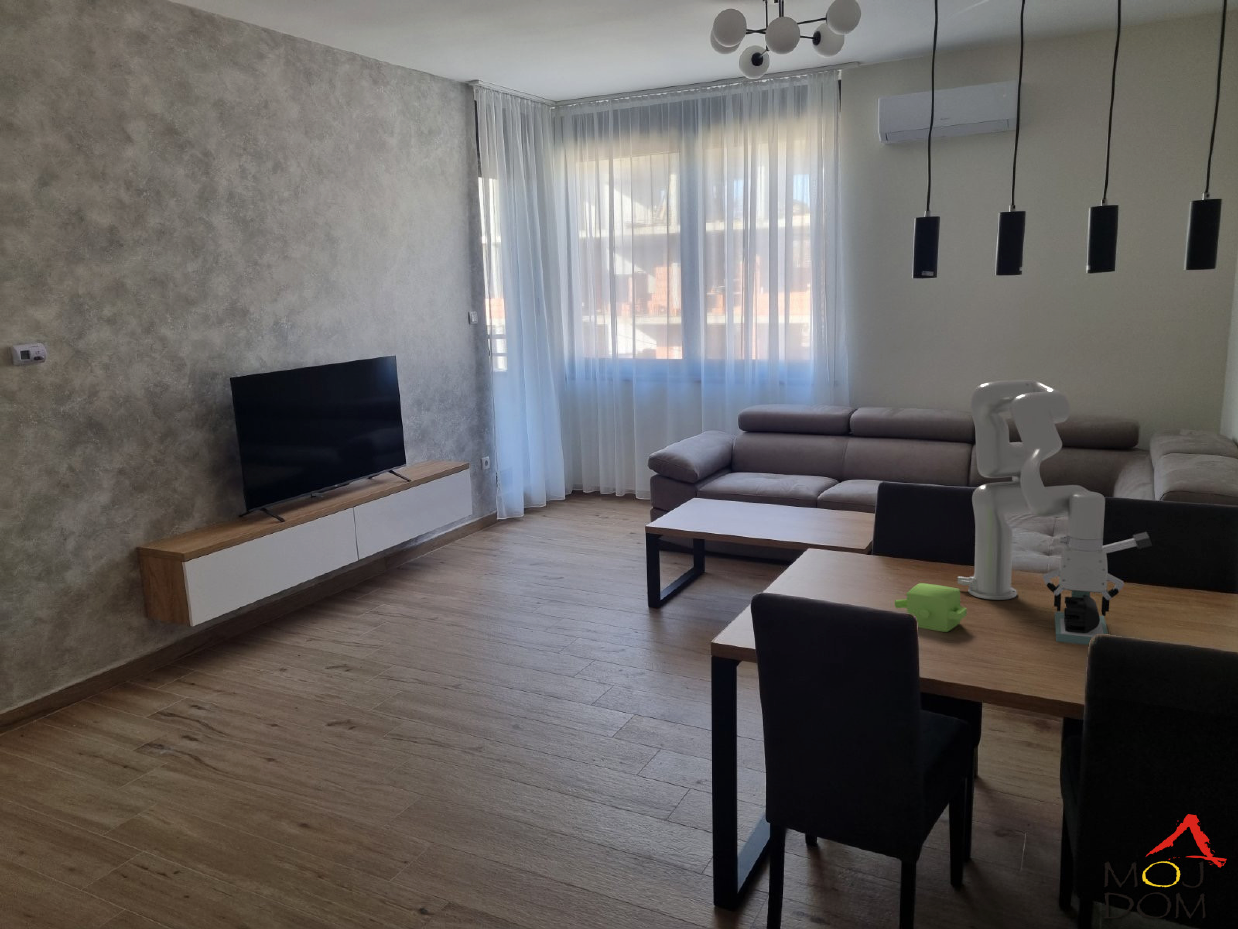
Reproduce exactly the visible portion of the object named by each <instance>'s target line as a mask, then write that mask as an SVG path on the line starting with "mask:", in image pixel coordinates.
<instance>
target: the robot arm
mask: <svg viewBox="0 0 1238 929" xmlns="http://www.w3.org/2000/svg"><path fill="white" fill-rule="evenodd" d="M969 403H970V413H971V417H972V420H973V424H974V428H975V451H976V466H977V468H976V469H977V471H978V473H979V475H980V476H982V477H984V478H987V479H997V478H998V479H999V478H1011V480H1012V481H1001V482H990V483H984V484H982V485H980V486H977V487H976V489H975V490H974V491H973V492H972V495H971V496H972V497H971V502H972V509H973V515H974V525H975V529H974V531H975V532H974V536H975V538H974V541H975V542H974V544H975V545H974V574H973V575H970V576H969V577H968V576H967V577H966V576H959V575H958V576H957V584H961V586H968V587H967V588H968V593H969V594H970V595H971V596H973V597H976V598H979V599H985V600H992V601H1001V600H1002V601H1003V600H1005V601H1006V600H1012V599H1014V598H1016V597H1017V594H1018V592H1017V589H1015V588H1014V587H1012V564H1013V563H1012V559H1013V558H1012V557H1013V532H1012V529H1011V526H1010V525H1009V523H1008V522H1007V520H1006V519H1005V518H1007V517H1013V516H1014V517H1015V516H1024V515H1029V514H1030V515H1031V514H1033V515H1034V516H1036V517H1039V518H1041V519H1042V518H1043V519H1048V518H1058V517H1068V518H1067V535H1066V536H1064V537H1062V536H1061V537H1060V543H1061V544H1065V546H1064V547H1063V549H1062V552H1061V558H1060V561H1059V562H1060V563H1059V568H1058V569H1055V570H1053V571H1050V572H1047V573H1044V574H1042V579H1043V581H1044V583H1045V586H1046V587H1047V588H1048V589H1049V591H1051V593H1052V594H1053V595H1054V598H1053V599H1054V600H1053V607H1054V608H1056V612H1061V609H1062V608H1061V606H1062V592H1063V591H1064V590H1065V591H1070V592H1071V591H1081V592H1090V593H1093V594H1095V593H1096V594H1098V593H1099V594H1101V595H1102V597H1101V616H1104V617H1106V615H1107V614H1106V612H1108V613H1109V612H1110V601H1111V600H1112V599H1113V598H1114V597H1115V596H1117V595H1118V594H1119V593H1120V591H1121V590H1122V588H1123V587H1124V585H1125V583H1124V581H1123V580H1122V579H1120V578H1118V577H1116V576H1114V575H1112V574H1110V573H1108V557H1107V553H1106V551H1105V550H1104V549H1102V546H1104V544H1103V543H1104V528H1105V527H1104V524H1105V521H1104V520H1105V510H1106V506H1105V505H1106V499H1105V497H1104V495H1103V494H1101V493H1099V492H1095V491H1091V490H1088V489H1087V488H1085V487H1084V486H1081V485H1077V484H1070V485H1069V484H1068V485H1067V484H1066V485H1054V486H1053V485H1052V486H1045V485H1044V483H1043V480H1042V477H1041V474H1040V466H1041V463H1042V462H1044V461H1045V460H1048V458H1050V457H1052V456H1054V455H1055V454H1057V453H1058V452H1059V451H1061V449H1062V447H1063V442H1062V440H1061V437H1060V434H1059V433H1058V430H1057V427H1056V424H1061V423H1064V422H1066V421H1067V420H1068V419H1069V417H1070V414H1071V405H1070V402H1069V399H1068V398H1067V397H1066V395H1064V393H1062V392H1061V391H1059V390H1058V389H1056V388H1054V387H1051V386H1049V385H1047V384H1046V383H1045V384H1044V383H1042V382H1041V381H1038V380H1034V379H1015V380H997V381H990V382H985V383H982V384H980V385H978V386H977V387H976V388H974V390H973V392H972V394H971V397H970V402H969ZM1001 413H1011V414H1010V415H1011V416H1012V419H1013V422H1014V424H1015V428H1016V430H1017V431H1018V434H1019V438H1020V440H1021V441H1016V442H1015V441H1013V442H1010V430H1009V425H1008V423H1007V421H1006V420H1005V419H1004V417H1003V416H1002V415H1001ZM1056 577H1058V584H1057V585H1055V584H1054V583H1053V582H1052V579H1053V578H1056ZM1108 581H1109V582H1111V583H1113V584H1114V586H1113V588H1111V589H1110V590H1108V589H1107V588H1108Z"/></svg>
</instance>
